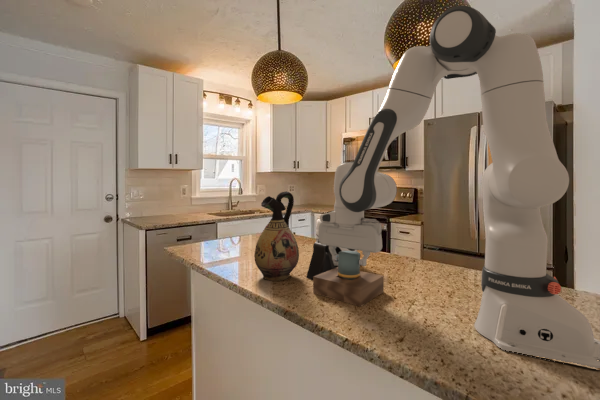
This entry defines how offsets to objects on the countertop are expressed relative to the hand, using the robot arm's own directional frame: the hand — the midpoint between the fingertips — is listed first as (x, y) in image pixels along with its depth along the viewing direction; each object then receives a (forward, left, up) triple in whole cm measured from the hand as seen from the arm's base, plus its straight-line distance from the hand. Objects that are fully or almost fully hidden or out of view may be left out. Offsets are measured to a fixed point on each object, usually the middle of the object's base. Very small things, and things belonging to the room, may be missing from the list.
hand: (348, 262), depth 95 cm
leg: (0, 0, -9) cm, 9 cm away
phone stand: (+15, -7, -9) cm, 19 cm away
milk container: (+21, -24, -9) cm, 33 cm away
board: (0, 0, -9) cm, 9 cm away
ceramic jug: (+27, +2, -9) cm, 29 cm away
